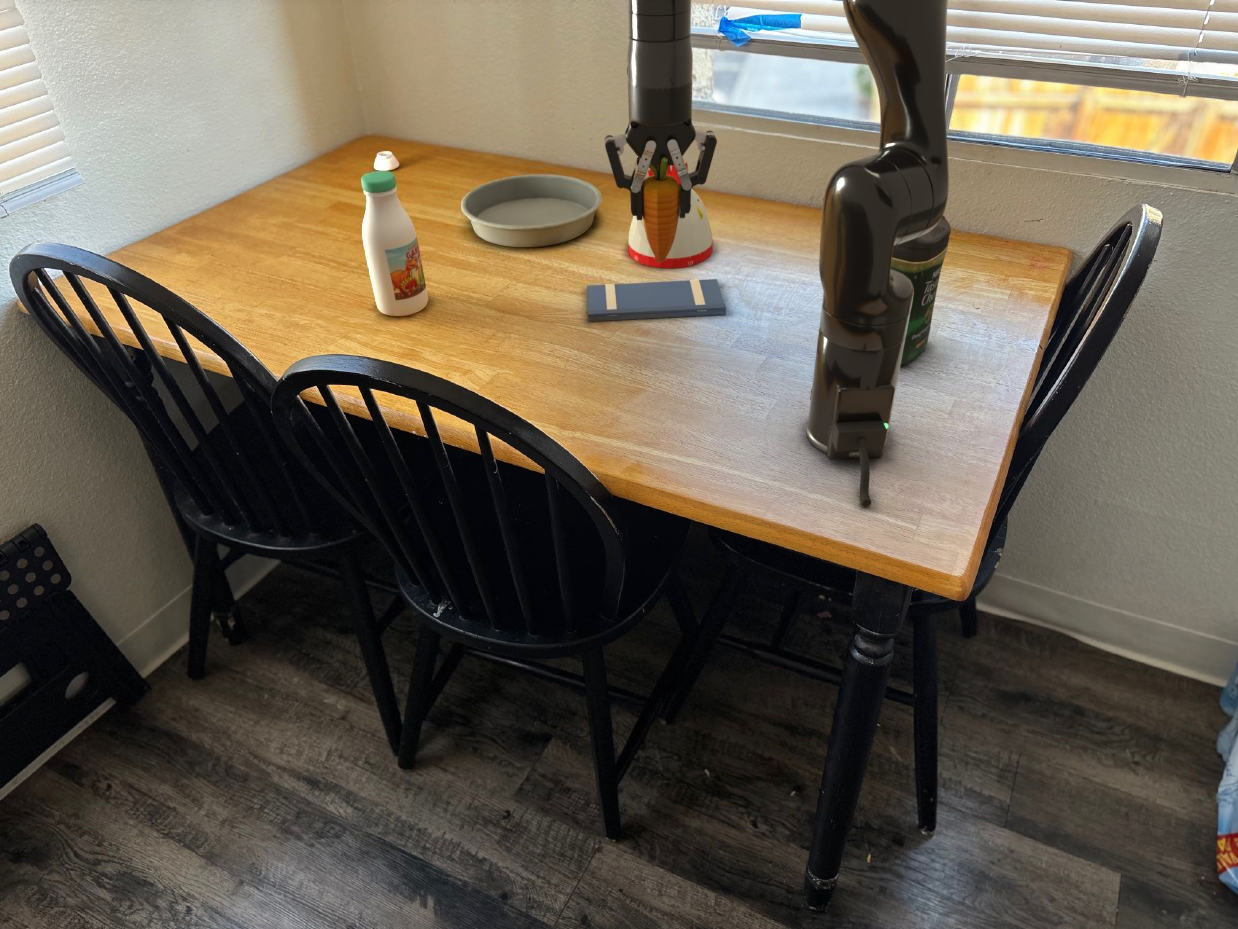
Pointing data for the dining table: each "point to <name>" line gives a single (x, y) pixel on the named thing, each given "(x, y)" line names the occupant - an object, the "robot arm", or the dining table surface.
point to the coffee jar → (921, 282)
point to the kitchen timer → (676, 236)
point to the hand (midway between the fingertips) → (660, 216)
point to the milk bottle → (391, 248)
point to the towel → (654, 300)
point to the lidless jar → (385, 161)
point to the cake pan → (532, 209)
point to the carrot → (660, 209)
